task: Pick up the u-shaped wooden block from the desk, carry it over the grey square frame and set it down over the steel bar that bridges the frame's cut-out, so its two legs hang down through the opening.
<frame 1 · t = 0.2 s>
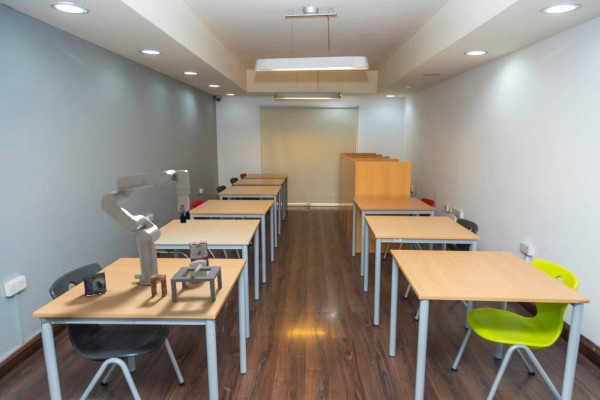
hand: (185, 221, 221), 36 cm above the table, tool pointing down, fingers open, 9 cm apart
photo printer: (199, 280, 228), on the table
small box: (96, 293, 212), on the table
u-shaped wooden block: (159, 295, 207), on the table
grey square frame: (198, 294, 207), on the table
candy bar box: (199, 266, 253), on the table
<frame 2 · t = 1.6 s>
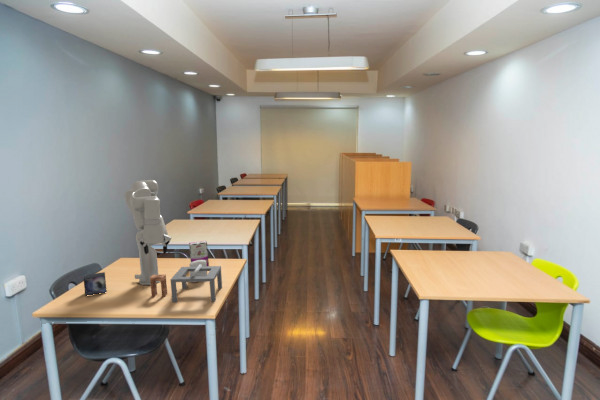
hand: (156, 253, 203), 24 cm above the table, tool pointing down, fingers open, 9 cm apart
nothing on the table moved.
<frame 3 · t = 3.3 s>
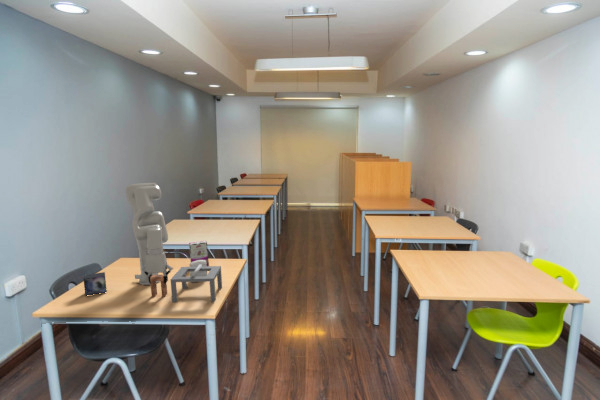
hand: (158, 282, 206), 7 cm above the table, tool pointing down, fingers closed on u-shaped wooden block, 7 cm apart
u-shaped wooden block: (159, 295, 207), on the table, touching gripper
everything else where it was.
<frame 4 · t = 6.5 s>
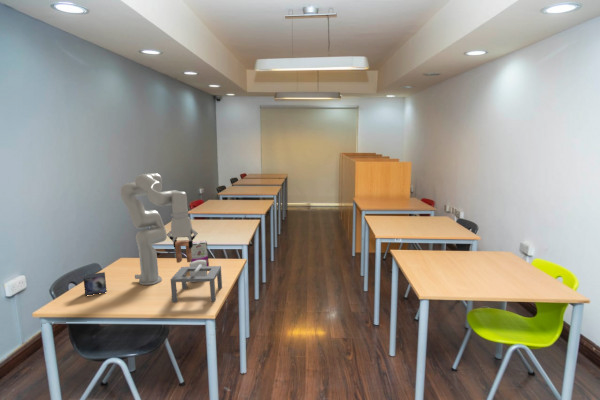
hand: (183, 248, 203), 26 cm above the table, tool pointing down, fingers closed on u-shaped wooden block, 7 cm apart
u-shaped wooden block: (184, 261, 204), point 19 cm above the table, touching gripper
everything else where it was.
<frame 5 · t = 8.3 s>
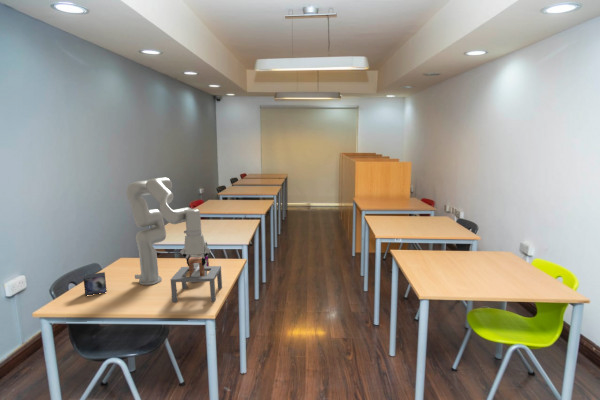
hand: (196, 264, 204), 17 cm above the table, tool pointing down, fingers closed on u-shaped wooden block, 7 cm apart
u-shaped wooden block: (197, 277, 205), point 9 cm above the table, touching gripper
everything else where it was.
when the fingers open (14 cm above the table, at t = 9.3 s): u-shaped wooden block drops 1 cm, resting on grey square frame.
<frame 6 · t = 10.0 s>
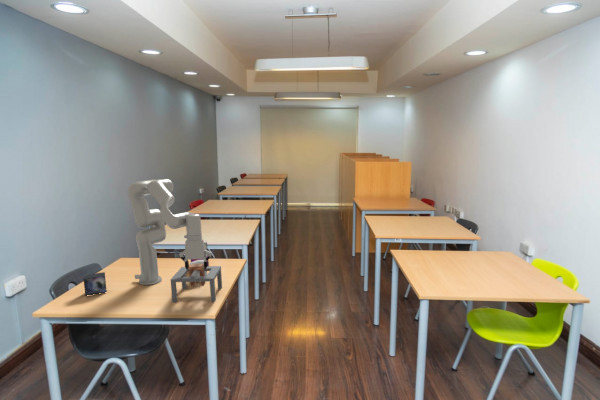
hand: (196, 268, 205), 15 cm above the table, tool pointing down, fingers open, 9 cm apart
u-shaped wooden block: (198, 284, 206), point 6 cm above the table, touching grey square frame
everything else where it was.
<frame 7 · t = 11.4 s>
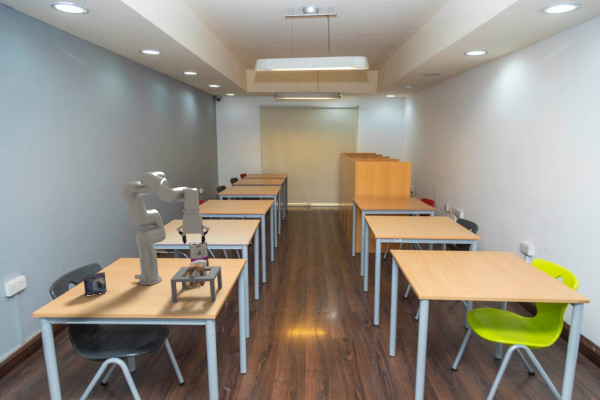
hand: (194, 243, 204), 28 cm above the table, tool pointing down, fingers open, 9 cm apart
nothing on the table moved.
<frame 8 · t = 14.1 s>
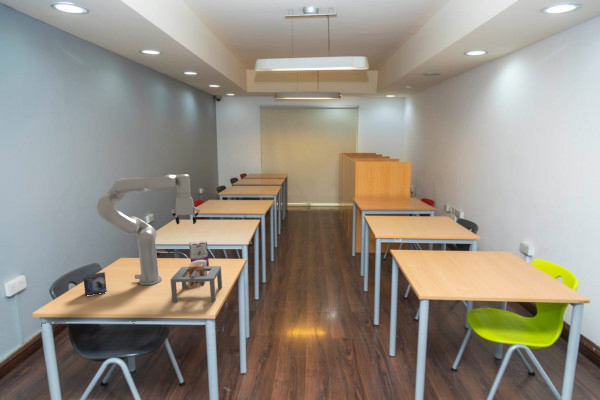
hand: (186, 223, 228), 33 cm above the table, tool pointing down, fingers open, 9 cm apart
nothing on the table moved.
at the end: u-shaped wooden block 0.0 cm off-centre on the grey square frame, point 5.5 cm above the grey square frame's base; u-shaped wooden block touching grey square frame; the gripper is holding nothing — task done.
